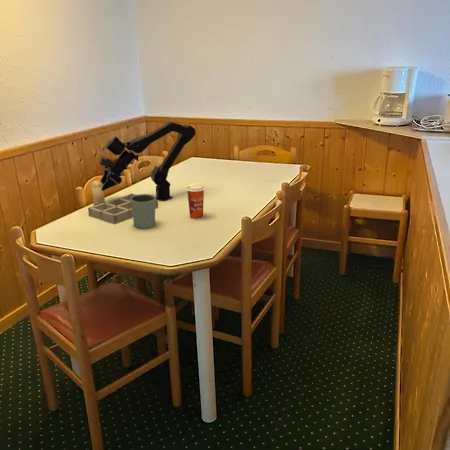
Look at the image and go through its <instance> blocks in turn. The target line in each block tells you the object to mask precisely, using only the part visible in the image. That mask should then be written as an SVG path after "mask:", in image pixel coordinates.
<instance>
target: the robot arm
mask: <svg viewBox="0 0 450 450" xmlns="http://www.w3.org/2000/svg"><path fill="white" fill-rule="evenodd" d="M172 132H175V133H177V138H176V141H175V142H174V144H173V145H172V147H171V148H170V149H169V151H168V153H167V155H166V156H165V157H164V159H163V160H162V162H161V164H160V165H158V166H157V165H154V168H153V170H151V171H150V173H151V174H150V179H151V181H152V182H153V183H154V184H155V197H156V200H159V201H162V202H164V201H167V200H169V199H173V196H171V182H169V181H168V179H167V178H168V175H169V172H170V169H171V167H172V165H174V162H175V161H176V159H177V158H178V157H179V155H180V153H181V151H182V150H183V148H184V147H185V145H187V144H188V143H189V142H191V141H192V139H193V138H194V137H195V136H196V132H197V131H196V128H195V127H193V126H192V125H190V124H186V123H185V124H179V123H177V122H174V121H167V122H166V123H165V124H163V125H161V126H160V127H158V128H156V129H155V130H153V131H151V132H149V133H147V134H146V135H142V136H138V137H135V138H132V139H131V140H130V141H128V142H127V141H126V142H123V141H121V140H120V139H119V138H118V137H117V136H114V137H113V138H111V139H110V140H109V141H108V142H107V143H106V145H105V148H106V149H107V150H108V151H109V152H110V153H112V154H113V155H114V156H118V157H117V158H114V159H111V158H108V157H105V156H101V157H100V159H99V166H101V167H103V174H102V177H101V179H100V181H101V182H102V184H103V187H102V188H101V190H102V191H104V192H105V191H106V190H108V189H110V188H113V187H115V186H118V185H120V184H121V183H122V181H123V180H122V179H123V178H122V177H121V176H122V174H123V172H124V171H127V169H128V166H130V164H131V163H132V162H133V161H134V160H135V161H136V162H140V161H139V154H140V153H142V152H143V151H145V150H146V149H147V148H148V147H149V146H150V145H151V144H152V143H154V142H156V141H157V140H159V139H161V138H163V137H164V136H166V135H168V134H170V133H172ZM135 153H136V154H135Z"/></svg>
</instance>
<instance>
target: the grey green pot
mask: <svg viewBox="0 0 450 450" xmlns="http://www.w3.org/2000/svg"><path fill="white" fill-rule="evenodd" d="M156 197H157V196H156V195H153V194H150V193H149V194H148V193H147V194H146V193H142V194H135V196H132V197H131V198H130V200H131V206H132V212H133V217H132V218H133V219H132V220H133V226H134V228H135V229H139V230H142V229H143V230H145V229H146V230H147V229H151V228H153V227H154V226H155V225H156V209H155V202H156V200H157V199H156Z"/></svg>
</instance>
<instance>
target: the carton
mask: <svg viewBox="0 0 450 450" xmlns="http://www.w3.org/2000/svg"><path fill="white" fill-rule="evenodd" d="M135 195H136V194H135V193H129V194H126V195H124V196H120V197H117V198H115V199H111V200H108V201H105V203H101V204H98V205H95V206H94V205H93V206H90V207H88V208H87V209H88V210H87V212H88V216H89V217H92V218H95V219H98V220H100V221H104V222H107V223H111V224H112V225H113V224H114V225H116V224H119V223H121V222H124V221H126V220H129V219H132V218H134V217H133V212H132V206H131V200H130V198H131V197H132V196H135ZM158 208H159V201H158V199H156V202H155V210H156V209H158Z"/></svg>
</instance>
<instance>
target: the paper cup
mask: <svg viewBox="0 0 450 450" xmlns="http://www.w3.org/2000/svg"><path fill="white" fill-rule="evenodd" d="M186 187H187V188H186V192H187V202H188V208H189V210H188V212H189V217H191V219H192V218H200V219H202V218H203V217H204V200H205V197H204V195H205V193H204V192H205V189H206V188H205V186H204V184H201V183H190V184H188V185H187V186H186ZM201 217H202V218H201Z"/></svg>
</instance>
